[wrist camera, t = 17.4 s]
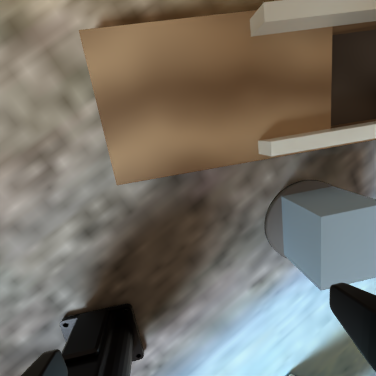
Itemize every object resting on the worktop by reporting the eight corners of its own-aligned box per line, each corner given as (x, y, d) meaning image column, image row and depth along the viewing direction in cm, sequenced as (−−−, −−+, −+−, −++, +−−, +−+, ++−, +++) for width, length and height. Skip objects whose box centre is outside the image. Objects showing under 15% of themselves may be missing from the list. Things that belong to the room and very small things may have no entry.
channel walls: (419, 125, 18) (450, 125, 16) (258, 153, 17) (271, 156, 15) (435, -3, 16) (473, -21, 14) (249, 19, 15) (263, 2, 13)
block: (332, 186, 20) (387, 203, 15) (331, 244, 22) (381, 276, 17) (281, 196, 20) (321, 217, 15) (283, 254, 21) (320, 290, 16)
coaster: (340, 248, 23) (345, 251, 22) (267, 264, 22) (270, 268, 21) (343, 173, 21) (348, 174, 20) (262, 188, 20) (265, 190, 19)
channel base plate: (393, 132, 20) (418, 132, 18) (121, 179, 18) (116, 185, 16) (405, 5, 18) (436, -11, 16) (88, 43, 15) (78, 30, 13)
